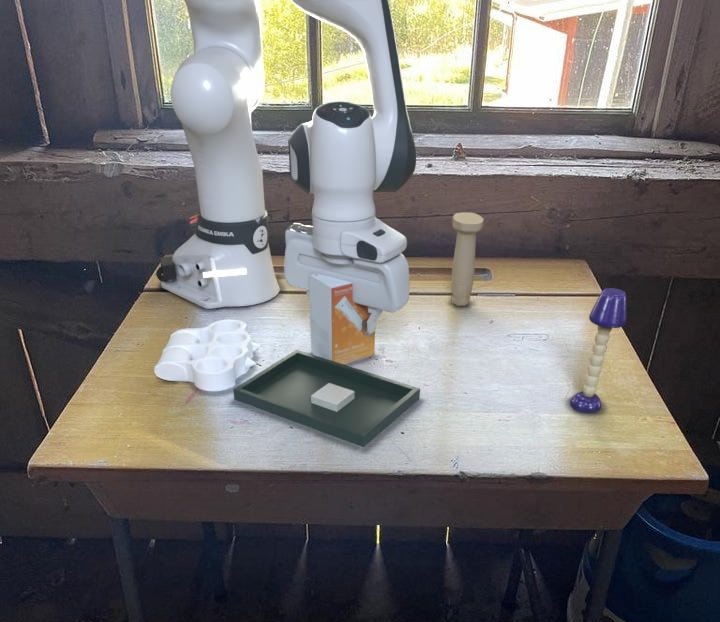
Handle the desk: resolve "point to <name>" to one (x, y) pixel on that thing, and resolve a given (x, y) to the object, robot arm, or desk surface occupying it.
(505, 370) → the desk surface
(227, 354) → the white brass knuckles
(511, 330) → the desk surface
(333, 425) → the tray
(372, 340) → the small box
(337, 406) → the chalk block
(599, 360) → the toy lamp
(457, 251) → the handle
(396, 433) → the desk surface
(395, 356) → the desk surface
